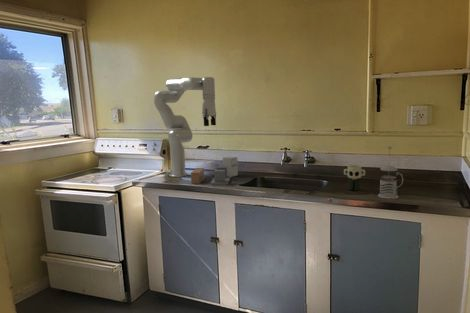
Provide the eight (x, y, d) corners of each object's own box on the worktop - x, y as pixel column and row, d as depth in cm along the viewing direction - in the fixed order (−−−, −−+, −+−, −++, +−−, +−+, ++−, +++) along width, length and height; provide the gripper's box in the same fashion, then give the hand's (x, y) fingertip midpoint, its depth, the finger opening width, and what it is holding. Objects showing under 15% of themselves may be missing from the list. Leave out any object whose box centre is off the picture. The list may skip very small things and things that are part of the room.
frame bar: (191, 184, 231) (190, 172, 230) (197, 178, 249) (196, 167, 248) (199, 183, 231) (199, 172, 230) (204, 178, 249) (204, 167, 248)
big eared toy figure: (342, 190, 203) (343, 166, 201) (344, 187, 209) (344, 164, 208) (364, 191, 199) (364, 167, 197) (365, 189, 205) (365, 165, 204)
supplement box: (231, 177, 249) (230, 158, 247) (222, 176, 254) (222, 157, 252) (238, 175, 255) (237, 156, 253) (229, 174, 259) (228, 156, 258)
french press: (380, 193, 195) (381, 144, 192) (404, 195, 189) (406, 145, 186) (375, 197, 187) (376, 146, 184) (400, 199, 181) (402, 147, 178)
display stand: (210, 185, 225) (210, 171, 224) (215, 178, 247) (215, 166, 246) (227, 185, 224) (227, 171, 223) (230, 178, 246) (230, 165, 245)
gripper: (209, 98, 242) (210, 124, 244) (196, 97, 226) (198, 126, 228) (220, 97, 239) (221, 124, 241) (208, 97, 223) (209, 126, 226)
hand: (210, 125), depth 235 cm, fingers open, 9 cm apart
